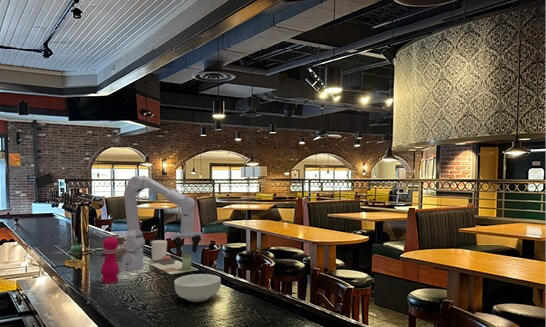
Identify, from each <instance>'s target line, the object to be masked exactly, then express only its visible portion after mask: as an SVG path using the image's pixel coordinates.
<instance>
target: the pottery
mask: <svg viewBox="0 0 546 327" xmlns="http://www.w3.org/2000/svg"><path fill="white" fill-rule="evenodd" d="M113 237H114V238H116V239H117V240H118V246H117V247H116V249H117V252H116V261H117V262H122V257H123V255H124V254H126V252H127V250H126V249H125V246H124V244H125V240H126V236H121V235H119V234H113ZM106 238H109V236H108V235H107V236H106ZM101 245H102V246H101V247H102V249H103V250H104V249H105V248H104V247H103V243H102V244H101Z"/></svg>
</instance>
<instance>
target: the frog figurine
mask: <svg viewBox="0 0 546 327" xmlns="http://www.w3.org/2000/svg"><path fill="white" fill-rule="evenodd" d="M78 240H79V239H78V236H75V241H74V243H71V244H70V245H69V247H70V249H69V250H68V251H67V257H66V260H64V265H65V266H66V267H70V268H74V269H76V270H77V269H78V268H80V269H82V268H84V267H85V266H86V265H87V262H85V261H84V260H83V259H82V260H81V259H79V258H80V254H81V253H83V254H84V255H86V253H85V252H84V251H83V250H82V248H84V243H83V242H81V243H78ZM70 254H72V255H73V256H74V258H72V256H71V255H70ZM76 256H77V257H76ZM77 258H78V259H77ZM78 270H79V269H78Z"/></svg>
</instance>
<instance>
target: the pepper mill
mask: <svg viewBox="0 0 546 327" xmlns="http://www.w3.org/2000/svg"><path fill="white" fill-rule="evenodd" d="M113 235H114V234H113V233H109V234H107V236H109V238H107V237H106V238H105V239H104V240H103V241H102V244H103V247H104V248H105V249H103V254H104V256H105V257H104V261H103V264H102V265H101V269H100V274H101V275H102V277H101V283H103V284H115V283H117V282H118V281H119V277H118V274H119V273H120V266H119V264H118V261H116V252H117V249H116V247H117V246H118V240H117V239H116V238H114V237H113ZM103 247H102V248H103Z"/></svg>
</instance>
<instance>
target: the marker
mask: <svg viewBox="0 0 546 327" xmlns="http://www.w3.org/2000/svg"><path fill="white" fill-rule="evenodd" d="M181 255H182V256H181V258H182V259H181V260H182V261H181V262H182V270H191V267H192V252H191V251H184V252H181Z"/></svg>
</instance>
